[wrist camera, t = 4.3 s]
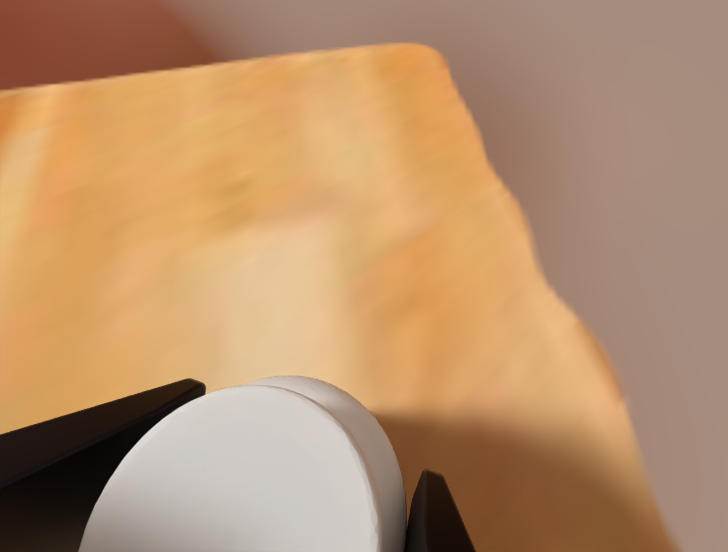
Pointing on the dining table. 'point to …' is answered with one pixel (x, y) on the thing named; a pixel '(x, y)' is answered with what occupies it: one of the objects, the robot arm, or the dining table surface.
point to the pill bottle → (257, 477)
